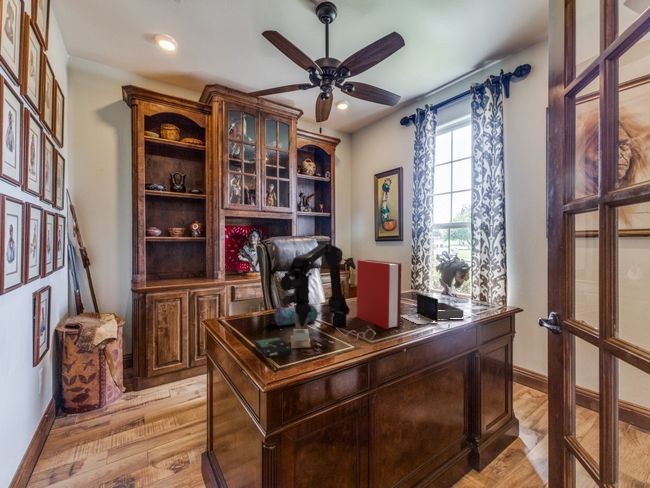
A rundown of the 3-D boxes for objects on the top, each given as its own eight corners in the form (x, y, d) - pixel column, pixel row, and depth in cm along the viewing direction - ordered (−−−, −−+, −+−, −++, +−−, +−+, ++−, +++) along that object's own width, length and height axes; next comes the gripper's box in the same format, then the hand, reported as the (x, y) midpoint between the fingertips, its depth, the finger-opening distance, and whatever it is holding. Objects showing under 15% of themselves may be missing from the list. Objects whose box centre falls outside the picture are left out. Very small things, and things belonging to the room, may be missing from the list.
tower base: (308, 342, 127) (308, 335, 127) (310, 348, 120) (310, 341, 120) (290, 342, 126) (290, 335, 126) (291, 349, 119) (291, 341, 119)
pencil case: (310, 319, 162) (310, 301, 162) (317, 323, 154) (318, 304, 154) (273, 324, 152) (273, 305, 152) (280, 328, 144) (280, 309, 144)
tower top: (307, 335, 126) (307, 328, 126) (309, 340, 121) (309, 333, 120) (293, 336, 126) (293, 329, 125) (294, 341, 120) (294, 333, 120)
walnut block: (306, 325, 126) (306, 311, 126) (307, 329, 121) (307, 314, 121) (295, 326, 125) (295, 312, 125) (296, 329, 121) (296, 314, 121)
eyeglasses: (344, 343, 126) (344, 331, 126) (331, 330, 144) (331, 319, 144) (378, 340, 130) (379, 329, 130) (362, 328, 148) (362, 318, 148)
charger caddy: (443, 310, 185) (443, 302, 185) (463, 319, 164) (463, 310, 164) (416, 311, 182) (416, 303, 182) (434, 320, 162) (434, 311, 162)
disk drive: (292, 355, 112) (279, 342, 126) (292, 348, 112) (279, 336, 125) (266, 360, 108) (254, 346, 121) (266, 353, 107) (255, 340, 120)
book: (400, 327, 148) (401, 263, 148) (388, 329, 144) (389, 263, 144) (366, 314, 172) (367, 259, 172) (355, 316, 168) (355, 260, 168)
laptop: (398, 316, 170) (398, 294, 169) (417, 315, 174) (417, 293, 173) (417, 325, 152) (418, 300, 152) (438, 323, 156) (438, 299, 156)
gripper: (282, 283, 131) (281, 319, 131) (282, 291, 112) (282, 332, 113) (307, 283, 133) (306, 318, 133) (311, 291, 114) (311, 331, 114)
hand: (301, 324), depth 123 cm, fingers closed on walnut block, 4 cm apart
